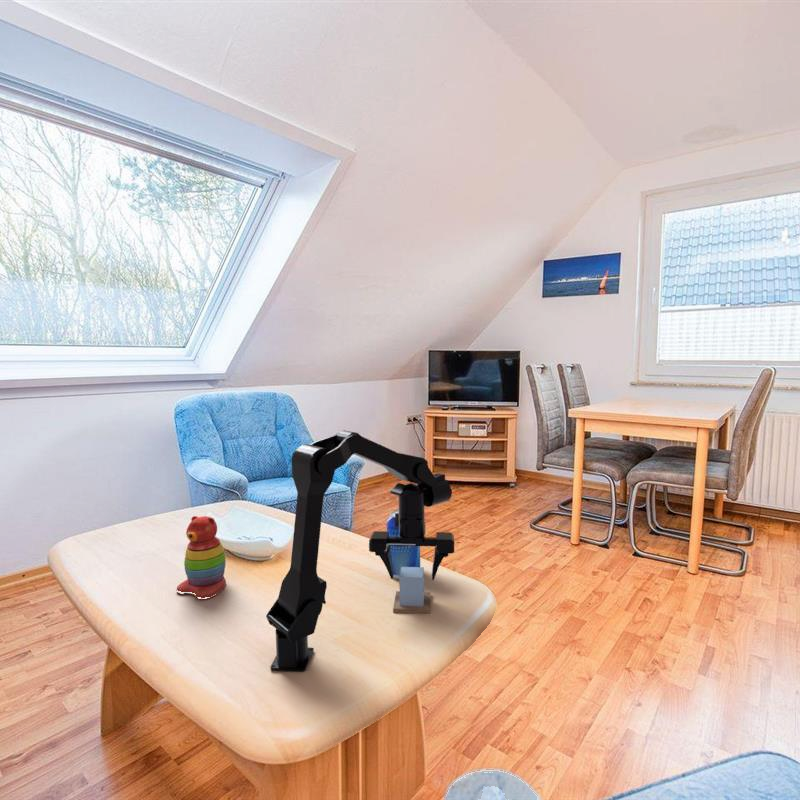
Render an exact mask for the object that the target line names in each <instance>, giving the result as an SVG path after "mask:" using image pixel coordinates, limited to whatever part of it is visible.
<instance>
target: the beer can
mask: <svg viewBox="0 0 800 800" xmlns="http://www.w3.org/2000/svg"><path fill="white" fill-rule="evenodd" d="M395 513H399V509H395V510H392V511H391V512H390V514H389V517H388V519H387V521H386V532H389V537H399V527H395ZM391 557H392V564H393V579H395V580H399V576H400V571H401V567H421V546H391Z"/></svg>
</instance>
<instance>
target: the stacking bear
mask: <svg viewBox="0 0 800 800" xmlns="http://www.w3.org/2000/svg"><path fill="white" fill-rule="evenodd" d="M185 531H186V532H185V533H186V534H185V535H186V537H187V539H188V540H189V542H188V544H187V547H186V549H185V555H184V563H183V564H184V565H183V566H184V571H185V575H186V580H184V581H183V582H181V583H180V584H178V585H177V587H176V591H177V590H178V591H181V592H192V593H195V594H196V596H197V597H201V598H205V597H211V596H213V595H215V594H217V593H218V594H220V593H221V592H222V591H223V590H224V589H225V587H226V586H227V581H226V578H225V576H224V575H225V570H226V563H227V562H226V553H225V550H224V546H223V544H222V542H221V541H220V539H219V538H218V537H217V536H216V535H217V532H218V524H217V521H216V520H215V518H214V517H211V516H209V515H208V516H206V515H203V516H197V515H194V516H192V517H191V521H190V523H189V524H188V526H187V528H186V530H185ZM223 588H224V589H223ZM222 589H223V590H222ZM221 590H222V591H221ZM220 591H221V592H220ZM219 592H220V593H219ZM218 594H217V595H218ZM196 596H195V597H196Z"/></svg>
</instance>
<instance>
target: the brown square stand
mask: <svg viewBox="0 0 800 800" xmlns="http://www.w3.org/2000/svg"><path fill="white" fill-rule="evenodd" d="M392 613H397V614H398V613H403V614H404V613H405V614H406V613H407V614H409V613H410V614H430V613H431V591H424V604H423V606H400V590H397V591H395V596H394V603H393V609H392Z"/></svg>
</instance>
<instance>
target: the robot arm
mask: <svg viewBox="0 0 800 800" xmlns="http://www.w3.org/2000/svg"><path fill="white" fill-rule="evenodd" d="M291 455H292V456H291V473H292V475H291V476H292V478H293V483H294V486H295V488H296V491H297V496H296V504H295V505H296V507H295V514H294V515H295V516H294V517H295V518H294V528H293V535H292V536H293V539H292V548H291V560H290V567H289V570H288V572H287V573H286V575H285V577H284V578H283V580H282V581H281V585H280V589H279V593H278V598H277V599H276V600H275V602H274V603H273V605H272V606H271V608H270V609H269V611H268V612H267V613H266V616H265V618H266V619H267V621H268V624H269V625H270V626H272V627H274V629H275V644H276V645H275V647H276V655H275V657H274V658H273V661H272V663H271V665H270V666H269V667H270V670H271V671H287V672H305V671H306V670H307V669H308V668H307V667H308V666H309V663H310V660H311V658H312V656H313V654H314V651H315V650H314V649H315V648H314V647H309V646H308V645H309V644H308V643H309V641H308V638H309V636H311V635H313V634H315V631H316V628H317V623H318V619H319V616H320V615H321V613H322V609H323V606H324V605H326V603H327V602H326V591H327V586H328V585H327V581H326V580H324V579H322V578H321V577H320V576H319V575H318V573H317V572H318V569H317V567H318V558H319V547H320V538H321V537H320V536H321V526H322V518H323V506H324V497H325V494H326V492H327V491H328V489H329V488H330V486H331V484H332V483H333V480H334V476H335V473H336V470H337V469H339V468H340V467H342V466H344V465H345V464H347V462H348V461H349V460H350V459H351V457H352V456H353V455H355V456H357V457H360V458H362V459H365V460H366V461H369V462H372V463H374V464H376V465H379V466H381V467H383V468H384V469H386V470H387V472H388V473H389V474H390V475H392V476H393V477H395V478H396V479H398V480H401V481H406V482H409V483H406V484H404V483H400V482H396V485H395V486H394V487H392V488H391V490H390V494H392V495H395V496H398V510H399V513H395V527H399V537H389V532H387V531H386V530H385V531H377V530H374V531H373V532H372V533H371V535H370V538H369V542H368V551H369V552H370V553H375V554H374V556H377V557H379V559H381V561H382V563H383V564H384V566H385V568H386V570H387V573H388V575H389V577H390V580H393V579H394V578H393V564H392V557H391V546H420V547H434V554H433V560H432V561H433V562H432V569H431V580H432V581H434V580H435V578H436V576H437V575H436V574H437V571H438V569H439V567H440V564H441V563H442V561H443V559H444V558H447V557H449V554H454V553H455V536H454V534H453V532H450V531H449V532H446V531H445V532H444V531H441V532H439V531H437V532H436V534H435V535H436V537H429V536H428V537H426V522H425V507H426V508H427V507H429V508H430V507H432V506H436V505H441V504H443V503H447V502H449V501H450V500H451V498H452V495H453V490H452V488H451V484H450V483H449V482H448V480H447V479H446V474H445V473H444V474H443V473H441V472H438V473H435V474H434V473H433V472H432V470H431V469H430V468H429V465H428V464H429V462H428V460H427V459H426V458H424V457H421V456H417V455H416V456H415V455H413V454H412V455H411V454H406V453H402V452H397V451H395V450H394V449H393V450H392V449H390V448H388V447H386V446H384V445H382V444H379V443H377V442H376V441H373V440H370V439H369V438H367V437H364V436H361V434H359V432H353V431H350V430H349V431H348V430H341V431H338V432H336V433H335V434H334V435H333V434H332V435H331V436H328V437H324V438H322V439H319V440H316V441H314V442H312V443H310V444H307V443H306V444H302V445H300V446H299V447H297V449H295V450H294V451H293V453H292V454H291Z"/></svg>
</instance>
